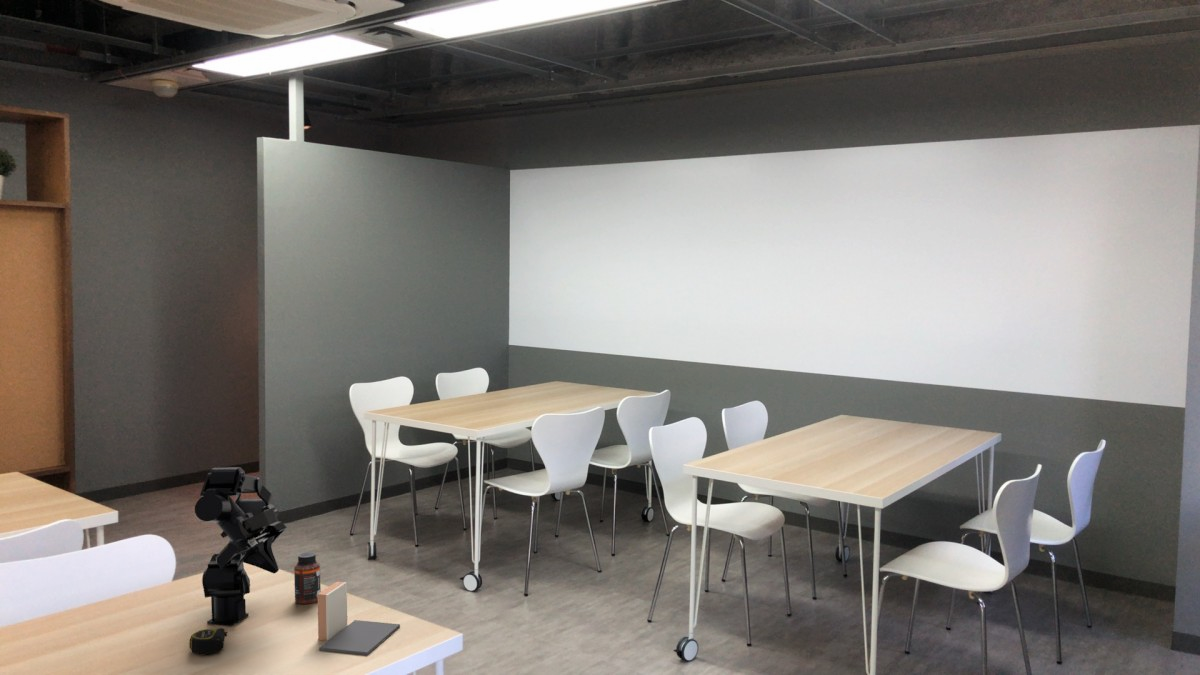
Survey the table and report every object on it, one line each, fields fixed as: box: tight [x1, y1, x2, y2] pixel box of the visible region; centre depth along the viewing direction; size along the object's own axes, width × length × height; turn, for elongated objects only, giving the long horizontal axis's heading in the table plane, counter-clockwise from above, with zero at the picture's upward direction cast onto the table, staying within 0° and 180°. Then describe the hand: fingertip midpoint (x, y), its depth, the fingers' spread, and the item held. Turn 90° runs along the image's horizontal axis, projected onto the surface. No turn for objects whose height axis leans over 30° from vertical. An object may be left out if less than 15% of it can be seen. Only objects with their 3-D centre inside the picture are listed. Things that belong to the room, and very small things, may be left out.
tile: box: [317, 581, 348, 641], centre depth 186 cm, size 2×8×10 cm, turn 167°
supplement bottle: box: [293, 551, 322, 605], centre depth 205 cm, size 6×6×11 cm
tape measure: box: [188, 627, 228, 656], centre depth 177 cm, size 7×7×4 cm
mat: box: [318, 619, 401, 656], centre depth 184 cm, size 11×15×1 cm
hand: (276, 571), depth 189 cm, fingers closed
